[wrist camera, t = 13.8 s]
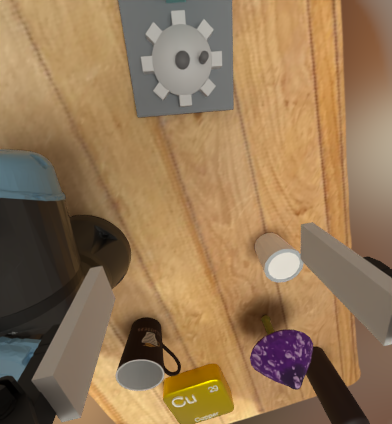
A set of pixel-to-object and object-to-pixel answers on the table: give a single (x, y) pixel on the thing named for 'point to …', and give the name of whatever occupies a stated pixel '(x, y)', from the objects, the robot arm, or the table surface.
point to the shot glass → (278, 257)
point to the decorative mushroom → (282, 355)
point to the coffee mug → (144, 357)
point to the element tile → (198, 394)
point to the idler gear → (175, 1)
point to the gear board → (141, 48)
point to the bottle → (333, 391)
